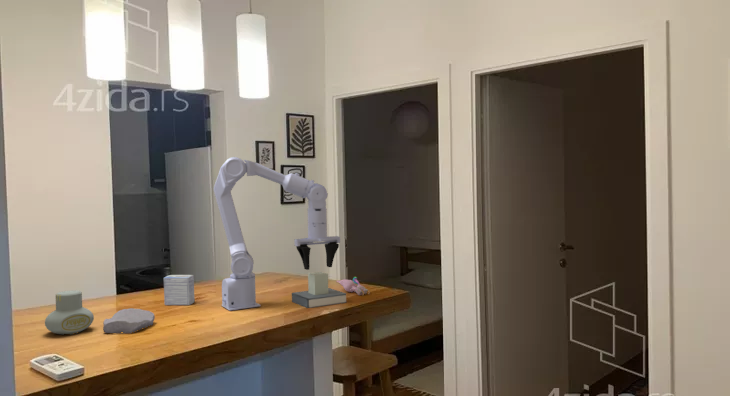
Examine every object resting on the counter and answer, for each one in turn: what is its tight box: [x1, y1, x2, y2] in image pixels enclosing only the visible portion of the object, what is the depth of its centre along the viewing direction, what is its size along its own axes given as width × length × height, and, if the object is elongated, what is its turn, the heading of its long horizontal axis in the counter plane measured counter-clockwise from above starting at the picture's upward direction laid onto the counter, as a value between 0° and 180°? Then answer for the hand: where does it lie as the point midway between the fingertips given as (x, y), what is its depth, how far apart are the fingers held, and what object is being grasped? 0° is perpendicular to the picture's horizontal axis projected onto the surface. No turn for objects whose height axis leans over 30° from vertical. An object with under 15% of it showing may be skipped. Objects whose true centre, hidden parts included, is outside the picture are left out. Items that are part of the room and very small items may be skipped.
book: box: [291, 287, 347, 309], centre depth 173 cm, size 13×11×3 cm
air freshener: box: [44, 289, 95, 335], centre depth 143 cm, size 11×8×10 cm
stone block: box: [102, 308, 156, 334], centre depth 146 cm, size 12×5×10 cm
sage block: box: [307, 271, 329, 295], centre depth 173 cm, size 4×4×6 cm
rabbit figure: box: [336, 276, 371, 297], centre depth 187 cm, size 6×6×15 cm
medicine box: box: [163, 274, 195, 306], centre depth 174 cm, size 8×4×9 cm, turn 84°
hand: (318, 268), depth 172 cm, fingers open, 7 cm apart
